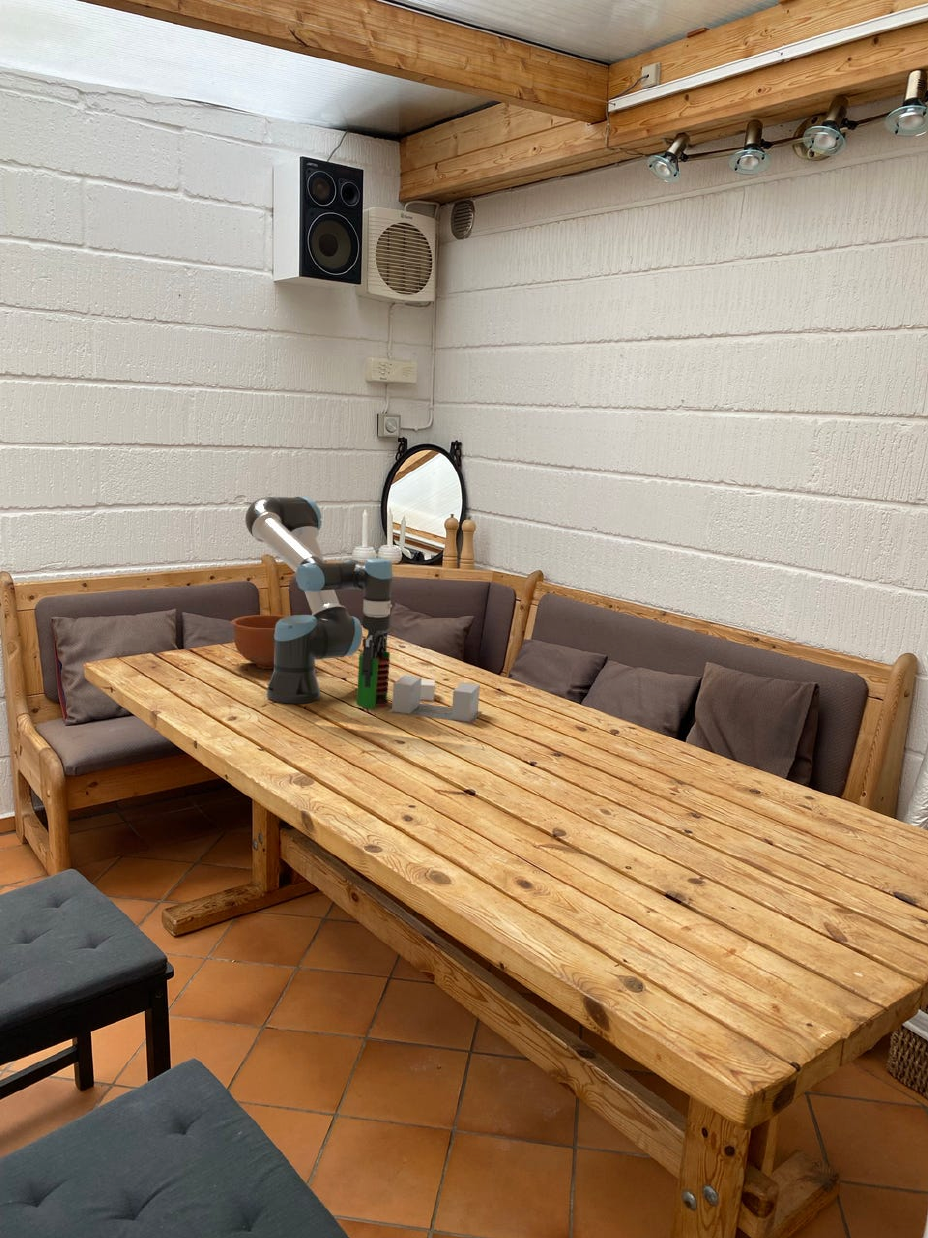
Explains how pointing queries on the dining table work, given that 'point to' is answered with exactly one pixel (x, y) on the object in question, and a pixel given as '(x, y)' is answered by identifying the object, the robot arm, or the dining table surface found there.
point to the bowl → (256, 638)
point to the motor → (374, 682)
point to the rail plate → (435, 712)
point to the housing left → (406, 694)
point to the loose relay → (427, 689)
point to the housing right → (465, 701)
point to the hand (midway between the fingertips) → (373, 694)
